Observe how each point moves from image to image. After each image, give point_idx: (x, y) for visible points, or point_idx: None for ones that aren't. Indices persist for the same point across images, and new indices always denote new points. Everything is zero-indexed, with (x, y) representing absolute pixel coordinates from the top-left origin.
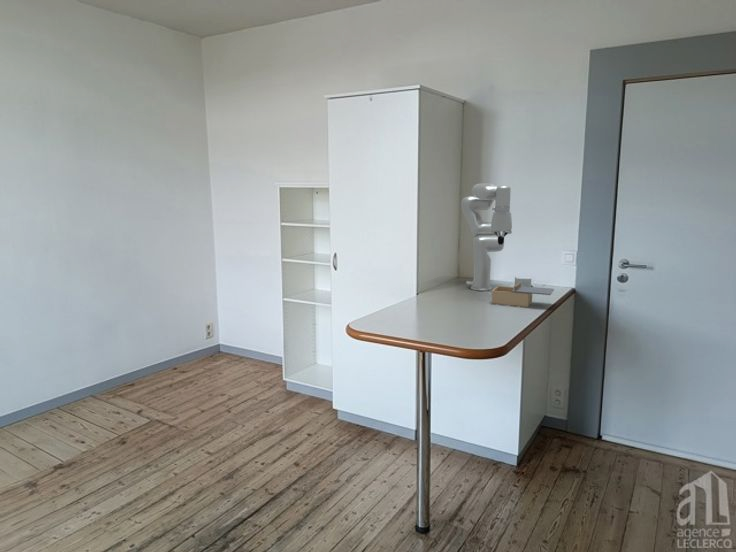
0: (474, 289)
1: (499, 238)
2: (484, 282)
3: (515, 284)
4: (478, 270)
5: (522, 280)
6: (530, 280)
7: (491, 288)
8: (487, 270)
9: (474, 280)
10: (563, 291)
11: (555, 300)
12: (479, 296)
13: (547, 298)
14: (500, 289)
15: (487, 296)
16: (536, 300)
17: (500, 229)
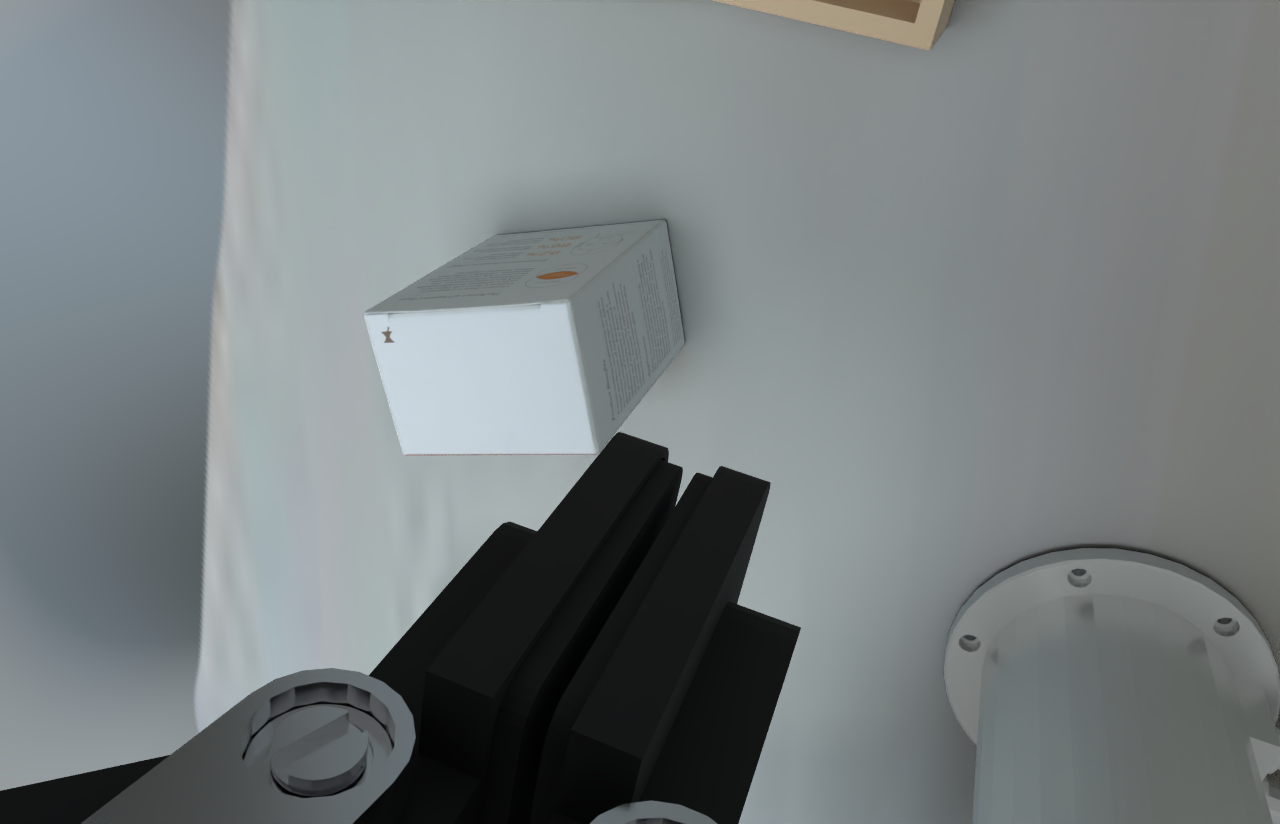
0: (1232, 597)
1: (632, 674)
2: (1080, 652)
3: (624, 334)
4: (1222, 822)
5: (497, 294)
6: (389, 301)
7: (962, 616)
8: (1037, 801)
9: (1247, 739)
10: (226, 574)
11: (238, 107)
12: (1231, 158)
13: (322, 206)
14: (884, 11)
15: (1084, 184)
16: (424, 51)
17: None
